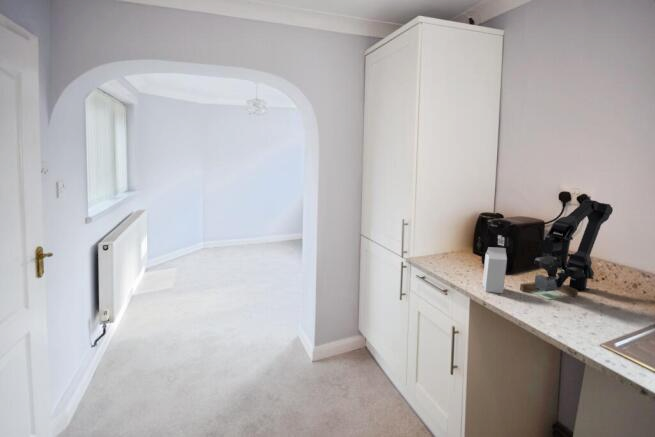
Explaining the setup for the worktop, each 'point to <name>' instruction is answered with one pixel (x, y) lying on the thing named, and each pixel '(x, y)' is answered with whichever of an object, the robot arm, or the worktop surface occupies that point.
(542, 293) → the pad
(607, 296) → the worktop surface
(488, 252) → the milk carton
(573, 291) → the wooden corner frame
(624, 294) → the worktop surface
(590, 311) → the worktop surface
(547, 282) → the bracket
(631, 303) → the worktop surface
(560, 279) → the robot arm
